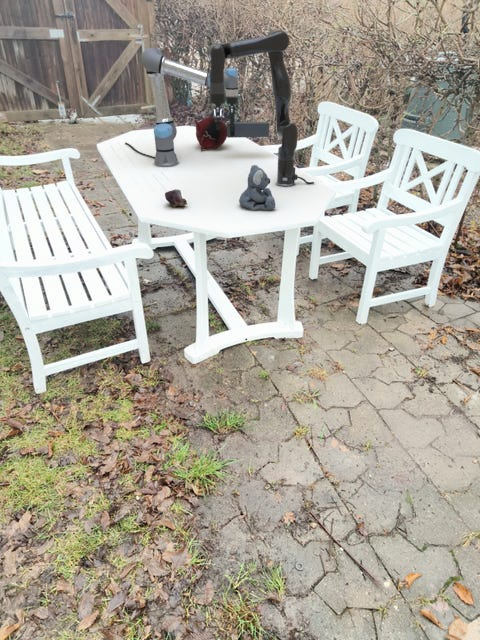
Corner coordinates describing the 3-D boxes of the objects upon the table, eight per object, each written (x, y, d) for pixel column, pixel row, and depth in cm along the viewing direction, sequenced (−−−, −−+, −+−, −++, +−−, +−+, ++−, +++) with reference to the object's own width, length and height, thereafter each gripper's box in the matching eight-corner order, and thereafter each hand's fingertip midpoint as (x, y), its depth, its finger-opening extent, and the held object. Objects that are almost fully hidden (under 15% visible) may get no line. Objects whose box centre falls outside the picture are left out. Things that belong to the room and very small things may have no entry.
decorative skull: (193, 122, 333) (191, 119, 309) (224, 115, 332) (225, 111, 308) (200, 152, 340) (198, 151, 316) (231, 145, 339) (231, 144, 315)
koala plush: (276, 211, 223) (277, 171, 212) (240, 212, 222) (240, 172, 211) (271, 199, 237) (272, 161, 226) (237, 200, 236) (237, 162, 225)
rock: (181, 203, 237) (163, 205, 233) (179, 186, 233) (160, 188, 229) (189, 206, 227) (170, 209, 223) (187, 189, 224) (168, 191, 220)
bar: (227, 137, 296) (226, 123, 291) (227, 135, 300) (227, 122, 295) (268, 137, 295) (269, 123, 290) (268, 135, 299) (268, 121, 294)
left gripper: (237, 98, 276) (237, 138, 290) (238, 94, 291) (238, 132, 304) (225, 98, 277) (226, 138, 290) (226, 94, 291) (227, 132, 305)
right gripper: (225, 94, 213) (226, 130, 223) (224, 90, 225) (225, 124, 234) (209, 94, 213) (210, 130, 222) (209, 90, 225) (211, 124, 234)
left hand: (232, 135), depth 297 cm, fingers closed on bar, 5 cm apart
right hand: (218, 127), depth 228 cm, fingers open, 8 cm apart
